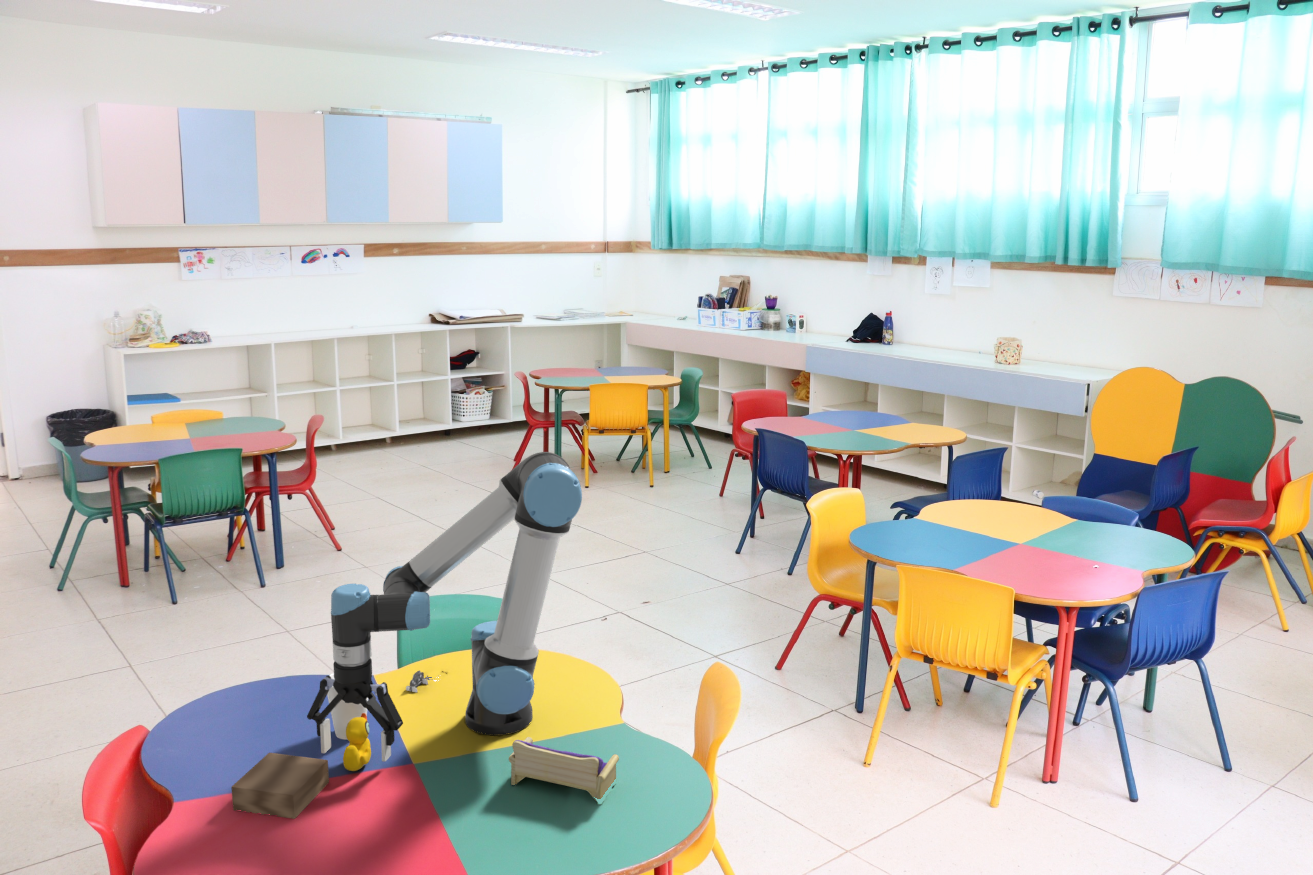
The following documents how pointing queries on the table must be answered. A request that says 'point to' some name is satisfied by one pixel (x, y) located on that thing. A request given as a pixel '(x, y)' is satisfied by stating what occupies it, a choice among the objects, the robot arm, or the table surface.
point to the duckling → (357, 744)
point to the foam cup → (343, 712)
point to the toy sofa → (562, 767)
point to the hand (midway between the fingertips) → (356, 754)
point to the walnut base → (280, 785)
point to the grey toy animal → (417, 681)
